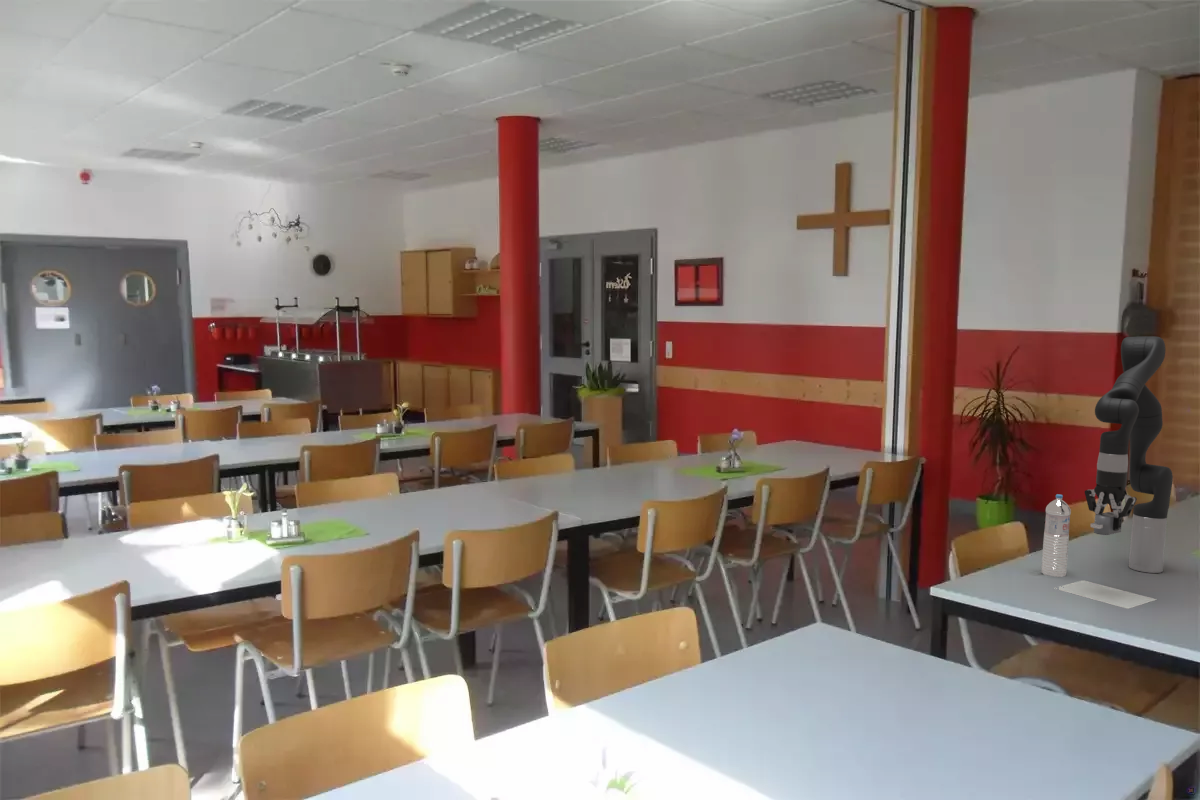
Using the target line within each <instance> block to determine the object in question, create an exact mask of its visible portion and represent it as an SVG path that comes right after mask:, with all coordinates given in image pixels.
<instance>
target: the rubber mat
mask: <svg viewBox="0 0 1200 800" xmlns="http://www.w3.org/2000/svg"><path fill="white" fill-rule="evenodd" d="M1061 586H1062V587H1061ZM1058 587H1059V590H1058V591H1060V592H1061V591H1062V592H1065V593H1069V594H1071V593H1072V595H1076V596H1080V597H1083V598H1085V599H1086V598H1087V599H1089V600H1090V599H1091V600H1094V601H1098V602H1101V603H1104V604H1109V605H1112V606H1115V607H1120V608H1123V609H1126V610H1129V609H1132V608H1135V607H1139V606H1141V605H1146V604H1147V603H1151V602H1155V601H1157V598H1153V597H1149V596H1146V595H1141V594H1137V593H1134V592H1131V591H1126V590H1122V589H1119V588H1115V587H1110V586H1107V585H1103V584H1099V583H1095V582H1091V581H1087V580H1084V579H1083V580H1082V579H1081V580H1077V581H1075V582H1071V583H1067V584H1064V585H1060V586H1058ZM1063 587H1064V588H1063ZM1053 588H1054V589H1053V590H1057V588H1056V587H1053ZM1055 588H1056V589H1055Z"/></svg>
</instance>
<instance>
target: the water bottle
mask: <svg viewBox="0 0 1200 800" xmlns="http://www.w3.org/2000/svg"><path fill="white" fill-rule="evenodd" d="M1063 497H1064V496H1063V494H1058V493H1057V494H1056V495H1055V499H1053V500H1052V501H1050V502H1049V503H1048V504H1047V505H1046V507H1045V519H1044V520H1045V521H1044V522H1045V523H1044V532H1043V541H1042V543H1043V544H1042V556H1041V574H1042V573H1043V574H1044V575H1045V576H1049V577H1056V578H1057V577H1058V578H1061V577H1066V575H1067V568H1068V567H1067V566H1068V565H1067V564H1068V555H1069V553H1068V552H1069V543H1070V542H1069V541H1070V540H1069V539H1070V535H1069V534H1070V522H1071V521H1070V520H1071V513H1072V509H1071V508H1070V506H1069V505H1068V503H1067V502H1066V501H1064V500H1063ZM1043 574H1042V575H1043Z"/></svg>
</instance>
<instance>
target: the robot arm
mask: <svg viewBox="0 0 1200 800" xmlns="http://www.w3.org/2000/svg"><path fill="white" fill-rule="evenodd" d="M1120 345H1121V346H1120V356H1121V365H1122V373H1121V374H1120V375H1119V376H1118V377H1117V379H1116V380H1115V383H1114V384H1113V386H1112V388H1111V389H1110V390H1109V391H1107V392H1106V393H1105V394H1104V395H1102V396H1101V397H1100V398H1099V399H1098V401H1097V403H1096V404H1095V407H1094V415H1095V418H1096V419H1097V420H1098V421H1100V422H1101V423H1107V424H1119V425H1121V426H1120V428H1119V429H1117V430H1110V431H1104V432H1102V433H1101V434H1100V439H1099V453H1098V457H1097V463H1096V477H1095V478H1096V479H1095V483H1096V485H1095V487H1094V488H1093V489H1086V490H1084V496H1085V500H1086V502H1087V508H1088V510H1089V511H1091V512H1093V513H1095V515H1096V514H1101V513H1105V512H1104V511H1105V508H1106V507H1107V505H1109V506H1111V510H1112V512H1114V517H1115V518H1114V522H1113V530H1114V531H1118V530H1119V529H1120V528H1121V529H1122V524H1121V523H1122V522H1123V518H1125V517H1129V516H1130V515H1131V513H1132V525H1131V533H1130V534H1131V536H1130V546H1129V547H1130V548H1129V559H1128V568H1130V569H1131V570H1134V571H1138V572H1142V573H1150V574H1157V573H1158V574H1160V573H1163V570H1164V559H1165V548H1166V547H1165V545H1166V537H1167V525H1168V524H1167V523H1168V513H1169V510H1170V509H1169V508H1170V501H1171V495H1172V494H1171V493H1172V489H1173V479H1174V475H1173V470H1171V468H1170V467H1169V466H1165V465H1157V464H1151V463H1150V464H1149V463H1147V461H1146V460H1147V459H1146V456H1147V451H1148V450H1149V448H1150V446H1151V445H1152V443H1153V442H1154V441H1155V440H1156V438H1158V436H1159V434H1160V433H1161V431H1162V429H1163V425H1164V424H1163V423H1164V422H1163V421H1164V420H1163V410H1162V409H1163V408H1162V405H1161V402H1160V401H1159V400H1158V398H1157V397H1156V396H1155V394H1154V393H1153V392H1152V390H1150V389H1149V387H1148V386H1147V385H1146V383H1148V381H1149V380H1150V379H1151V377H1153V376H1154V374H1155V373H1156V372H1157V370H1158V369H1159V368H1160V367H1161V366H1162V364H1163V362H1164V359H1165V357H1166V344H1165V341H1164V339H1163V338H1161V337H1159V336H1153V335H1151V336H1145V335H1144V336H1142V335H1141V336H1126V337H1125V338H1123V340H1122V342H1121V344H1120ZM1128 454H1129V456H1128ZM1128 467H1129V468H1128ZM1128 469H1129V484H1130V486H1131V489H1132V490H1133V491H1134V492H1137V493H1142V494H1147V495H1153V497H1152V500H1151V501H1149V502H1142V503H1136V502H1137V497H1136V496H1131V495H1128V493H1127V491H1126V488H1127V482H1128V481H1127V480H1128V479H1127V478H1128ZM1095 496H1096V497H1097V501H1096V497H1095ZM1123 500H1124V502H1125V504H1124V507H1123ZM1132 510H1133V511H1132Z"/></svg>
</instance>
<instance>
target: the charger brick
mask: <svg viewBox="0 0 1200 800" xmlns="http://www.w3.org/2000/svg"><path fill="white" fill-rule="evenodd" d="M1114 518H1115V517H1114V512H1113V511H1107V512H1103V513H1101V514H1095V515H1094V522H1092V523H1091V522H1090V528H1092V529H1093V533H1094V534H1095V535H1101V536H1110V535H1114V534H1119V533H1122V527H1121V528H1120V529H1119V530H1118V531H1114V530H1113V522H1114ZM1121 525H1122V523H1121Z"/></svg>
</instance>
